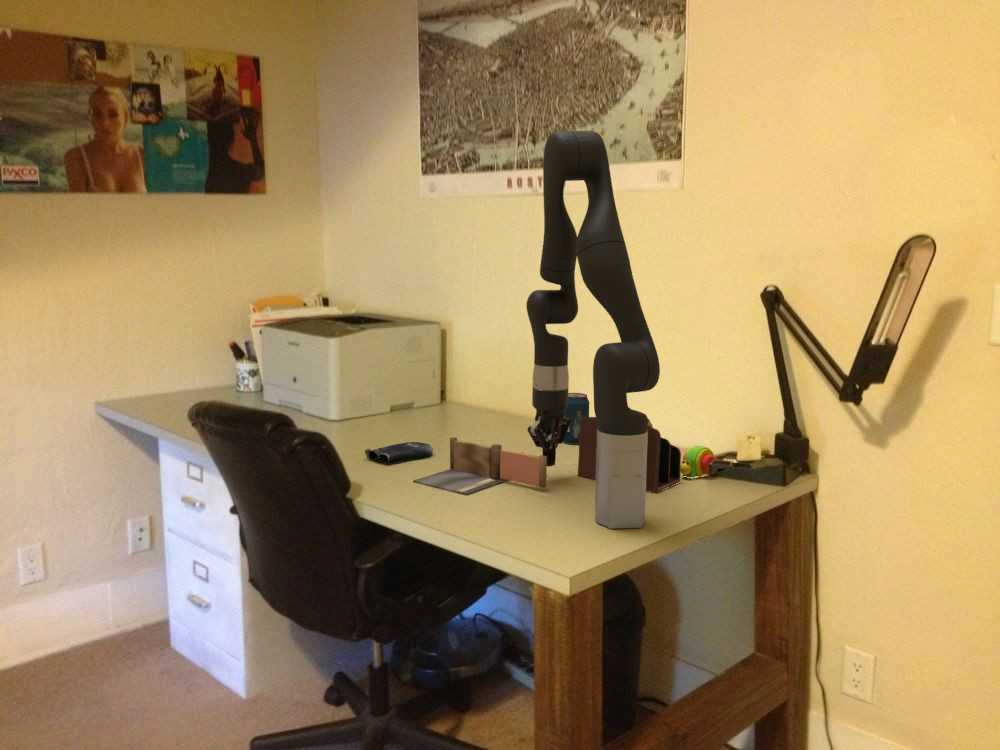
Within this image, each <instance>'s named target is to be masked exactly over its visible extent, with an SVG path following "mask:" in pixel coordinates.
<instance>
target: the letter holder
mask: <svg viewBox="0 0 1000 750" xmlns="http://www.w3.org/2000/svg"><path fill="white" fill-rule="evenodd" d="M578 445H579V446H578V462H577V463H578V464H577V465H578V467H577V476H578V477H582V478H585V477H586V479H590V478H591V480H595V481H596V445H597V420H596V416H589V417H584V418H582V419H581V422H580V439H579V444H578ZM681 457H682V452H681V449H680V448H679V447H677V446H676V445H673V444H671V442H670V441H669V440H668V439H667V438H665V437H661V432H660V430H659V429H656V428H654V427H653V428H652V427H649V426H648V443H647V472H646V490H647V491H646V492H648V491H651V492H650V493H653V492H658V493H660V492H659V491H661V490H663V489H665V488H667V487H670V486H672V485H674V484H676V483H678V482H680V483H681V470H680V467H681V465H682V458H681ZM674 486H675V485H674ZM672 487H673V486H672ZM670 488H671V487H670ZM665 490H666V489H665ZM663 491H664V490H663ZM661 492H662V491H661Z"/></svg>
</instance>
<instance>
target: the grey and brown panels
mask: <svg viewBox="0 0 1000 750" xmlns="http://www.w3.org/2000/svg"><path fill="white" fill-rule="evenodd" d="M502 448H503V446H502V444H498V443H497V444H491V446H489V445H484V444H479V443H473V442H469V441H465V440H459V439H458V438H457V437H450V438H449V469H447V470H444V471H440V472H437V473H434V474H430V475H426V476H423V477H421V478H417V479H413V483H416V484H420V485H425V486H429V487H433V488H436V489H440V490H445V491H449V492H452V493H455V494H458V495H459V494H461V495H464V496H469V495H471V494H472V495H473V494H475V493H477V492H478V493H479V492H480V491H484V490H486V489H488V488H489V489H490V488H492V487H494V486H497V485H501V484H503V483H506V482H509V481H510V480H507V479H502V478H500V450H503V449H502Z"/></svg>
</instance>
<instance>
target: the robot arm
mask: <svg viewBox="0 0 1000 750" xmlns="http://www.w3.org/2000/svg"><path fill="white" fill-rule="evenodd" d="M542 165H543V166H542V170H543V171H542V173H543V175H542V176H543V177H542V178H543V179H542V182H543V186H542V189H543V215H544V217H543V218H544V221H543V222H544V224H543V225H544V228H543V234H544V235H543V241H542V242H543V243H542V250H541V257H540V259H541V260H540V266H539V275H540V277H541V279H542V280H544V281H545V282H548V283H550V284H554V285H558V286H560V289H537V290H533V291H532V292H531V293H530V294H529V296H528V298H527V300H526V312H527V316H528V320H529V323H530V328H531V331H532V336H533V337H532V338H533V344H534V359H533V361H534V364H533V371H532V397H531V399H532V400H531V401H532V402H531V403H532V404H531V405H532V407H533V408H534V409H535V410H536V413H535V417H534V420H535V421H534V423H533V425H532V426H531V425H529V426H528V427H527V432H528V434H529V436H530V438H531V440H532V441H533V443H534V446H535V447H536V448H541V449H542V455H544V456H547V467H553V466H555V465H556V453H557V451H556V450H557V448H558V446H559V444H561V445H562V443H564V442H563V440H564V437H565V435H566V432H567V430H568V428H569V425H570V423H571V419H568V418H566V417H565V416H564V414H565V413H564V409H566V408H567V407H568V393H569V386H570V385H569V384H570V383H569V379H570V378H569V377H570V376H569V375H570V374H569V362H568V361H569V341H568V338H567V337H566V336H563V335H559V334H555V333H554V334H553V333H550V332H549V331H548V329H547V325H567V324H570V323H572V322H573V321H575V319H576V318H577V315H578V313H579V303H578V297H577V290H576V282H575V281H576V280H575V274H576V273H575V272H576V264H577V262H578V267H579V270H580V275H581V278H582V282H583V283H584V285H585V286H586V288H587V290H588V291H589V292H590V293H591V295H592V296H593V297H594V298H595V300H596V301H597V302H598V303H599V305H601V306H602V308H603V309H604V310H605V311H606V312H607V314H608V315H609V316H610V318H611V319H612V321H613V323H614V326H615V328H616V329H617V330H616V331H617V333H618V336H619V338H620V342H609V343H608V342H607V343H604V344H602V345H601V346H600V347H598V349H597V351H596V352H595V354H594V359H593V365H592V380H593V381H592V382H593V383H592V384H593V385H592V386H593V409H594V410H593V411H594V415H595V416H594V417H596V420H597V445H596V480H595V486H594V487H595V491H594V492H595V494H594V496H595V497H594V499H595V500H594V520H595V522H596V523H597V524H599V525H602V526H604V527H607V528H608V529H609V530H610V529H635V528H636V529H637V528H638V529H641V528H643V525H644V524H645V522H646V499H647V497H646V496H647V494H646V493H647V491H646V472H647V443H648V419H649V418H648V416H647V415H646V413H644V412H641V411H639V410H636V409H632V408H630V407H629V404H628V396H627V395H628V394H629V393H630V394H631V393H641V392H646V391H651V390H652V389H654V388H655V387H656V386H657V384H658V382H659V379H660V373H661V372H660V371H661V369H660V368H661V367H660V366H661V365H660V361H659V355H658V350H657V348H656V345H655V342H654V340H653V337H652V334H651V331H650V329H649V326H648V323H647V320H646V317H645V314H644V311H643V309H642V305H641V301H640V299H639V298H640V297H639V295H638V291H637V288H636V282H635V280H634V279H635V278H634V275H633V270H632V266H631V262H630V257H629V253H628V249H627V248H628V247H627V245H626V240H625V237H624V234H623V231H622V227H621V224H620V223H621V222H620V219H619V215H618V214H619V213H618V210H617V206H616V205H617V204H616V202H615V194H614V190H613V183H612V177H611V170H610V162H609V157H608V152H607V147H606V144H605V141H604V139H603V138H602V135H601V134H599V133H598V132H597V131H593V130H558V131H554V132H551V134H550V135H549V136H548V137H547V139H546V142H545V145H544V149H543V162H542ZM567 181H568V182H574V181H575V182H576V181H584V183H585V186H586V190H587V191H586V192H587V199H588V200H587V202H588V203H587V209H586V213H585V215H584V219H583V221H582V224H581V226H580V228H579V231H578V234H577V230H576V228H575V226H574V224H573V221H572V219H571V217H570V215H569V212H568V210H567V206H566V204H565V199H564V190H565V184H566V183H565V182H567Z"/></svg>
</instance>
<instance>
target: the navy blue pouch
mask: <svg viewBox="0 0 1000 750" xmlns="http://www.w3.org/2000/svg"><path fill="white" fill-rule="evenodd" d="M433 453H434V449H433V447H432V446H431V445H430V444H429V443H425V442H419V441H411V442H409V441H407V442H402V443H396V444H391V445H387V446H383V447H379V448H375V449H372V450H371V449H370V448H366V449H365V450H364V454H365V457H366V460H367V459H368V460H369V459H374V460H376V459H375V458H377V459H381V458H384V457H387V462H388V463H386V464H387V466H389V465H392V464H398V463H402V462H407V461H411V460H420V459H426V458H428V457H430V456H432V454H433ZM378 457H380V458H378ZM384 462H385V461H384ZM384 462H378V463H379V464H385V463H384Z"/></svg>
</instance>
